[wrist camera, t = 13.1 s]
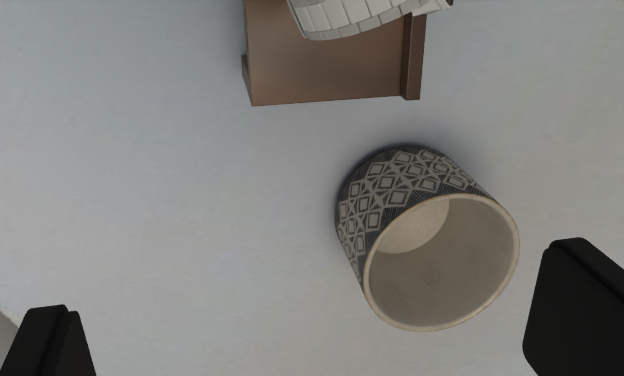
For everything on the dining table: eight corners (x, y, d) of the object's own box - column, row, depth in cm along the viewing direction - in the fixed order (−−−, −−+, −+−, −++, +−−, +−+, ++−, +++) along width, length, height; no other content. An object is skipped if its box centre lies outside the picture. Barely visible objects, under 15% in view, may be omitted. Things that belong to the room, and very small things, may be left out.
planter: (308, 239, 48) (334, 312, 39) (371, 120, 44) (416, 170, 35) (418, 273, 52) (464, 346, 43) (484, 168, 48) (551, 223, 39)
